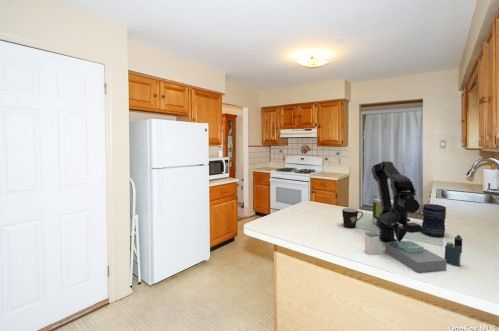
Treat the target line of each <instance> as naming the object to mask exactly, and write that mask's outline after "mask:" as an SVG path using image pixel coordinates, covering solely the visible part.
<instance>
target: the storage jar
mask: <svg viewBox="0 0 499 331" xmlns="http://www.w3.org/2000/svg"><path fill="white" fill-rule="evenodd" d="M422 207H423V208H422V222H421V226H422V232H421V233H422V235H424V236H426V237H430V238H436V239H439V238H445V233H446V225H445V224H446V215H447V210H446V209H447V207H446V206H444V205H441V204H434V203H425V204H423V205H422Z"/></svg>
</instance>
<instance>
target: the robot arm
mask: <svg viewBox="0 0 499 331" xmlns="http://www.w3.org/2000/svg"><path fill="white" fill-rule="evenodd" d="M370 172H371V174H372V178H373V179H374V180H375V181H376V182H377V186H378V188H377V189H378V193H379V194H378V196H379V199H380V201H381V208H382V209H381V211H380V213H379V218H378V219H377V221H376V224H375V225H376V227H377V228H378V229H379V241H382V242H384V243H393V242H398V241H403V238H405V235H406V234H407V233H411V234H413V233H422V224H419V223H417V222H411V219H410V218H409V216H408V213H409V214H414V213H416V212H418V211H419V209H420V206H421V205H420V203H419V201H418V200H417V199H415V196H416V188H415V187H414V183H413V182H412V181H411V179H410V178H409V177H408V176H406V175H402V174H401V173H400V171H398V169H397V168H396V167H395V165H394V162H393V161H380V162H379V163H377V164H374V165H373V166H371V170H370ZM388 180H390V183H389V181H388ZM389 186H390V188H389ZM390 189H391V192H392V198H391V194H390ZM391 200H393V208H392V204H391ZM395 238H396V239H395Z"/></svg>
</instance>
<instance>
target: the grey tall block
mask: <svg viewBox="0 0 499 331" xmlns="http://www.w3.org/2000/svg"><path fill="white" fill-rule="evenodd" d="M379 236H380V233H377V232H375V231H368V232H365V233H364V252H366V253H367V254H369V255H379V253H380V239H379Z"/></svg>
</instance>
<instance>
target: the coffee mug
mask: <svg viewBox="0 0 499 331" xmlns="http://www.w3.org/2000/svg"><path fill="white" fill-rule="evenodd" d="M341 212H342V221H343V223H342V224H343V227H344V228H346V229H353V230H354V229H356V227H357V222H358V221H359V220H360V219H362V218H363V216H364V212H362V210H358V209H357V208H354V207H353V208H352V207H343V208H341ZM359 213H361V216H360V217H359V218H358V214H359Z"/></svg>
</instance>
